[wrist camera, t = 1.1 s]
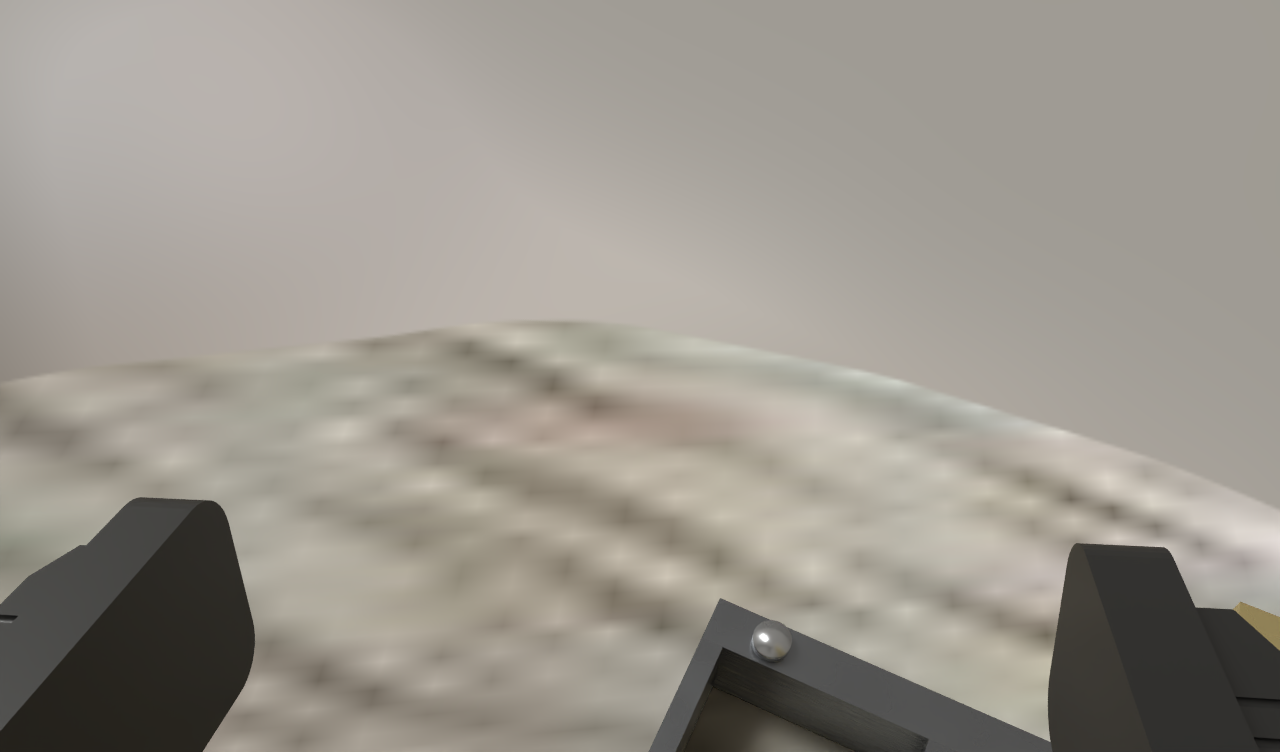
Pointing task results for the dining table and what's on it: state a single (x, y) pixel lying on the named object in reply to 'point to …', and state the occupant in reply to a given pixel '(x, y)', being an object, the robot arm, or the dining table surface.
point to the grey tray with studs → (826, 694)
